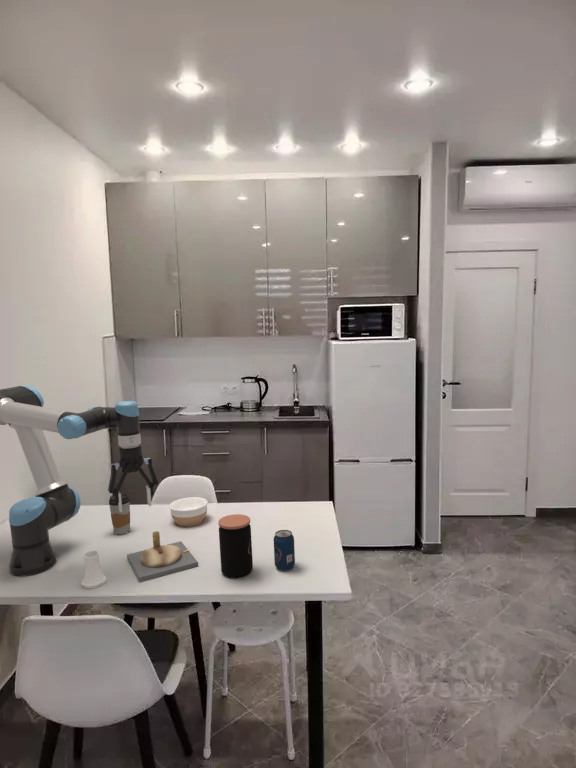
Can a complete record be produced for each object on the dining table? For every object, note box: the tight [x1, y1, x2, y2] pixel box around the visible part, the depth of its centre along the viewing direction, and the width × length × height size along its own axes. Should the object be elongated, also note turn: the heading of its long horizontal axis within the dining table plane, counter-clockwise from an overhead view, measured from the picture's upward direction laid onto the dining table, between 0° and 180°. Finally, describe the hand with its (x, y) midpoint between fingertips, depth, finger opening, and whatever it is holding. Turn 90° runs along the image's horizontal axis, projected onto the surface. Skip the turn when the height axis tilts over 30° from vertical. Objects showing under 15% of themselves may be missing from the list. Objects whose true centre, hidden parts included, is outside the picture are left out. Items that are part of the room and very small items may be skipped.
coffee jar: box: [217, 513, 254, 580], centre depth 170 cm, size 11×11×18 cm
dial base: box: [126, 541, 199, 583], centre depth 181 cm, size 20×20×2 cm
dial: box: [141, 530, 182, 567], centre depth 180 cm, size 14×14×7 cm
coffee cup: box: [108, 493, 131, 535], centre depth 208 cm, size 8×8×15 cm
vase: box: [81, 550, 107, 590], centre depth 168 cm, size 8×8×10 cm
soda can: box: [273, 529, 296, 572], centre depth 173 cm, size 7×7×12 cm
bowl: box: [169, 496, 209, 527], centre depth 217 cm, size 16×16×8 cm
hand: (135, 507), depth 180 cm, fingers open, 9 cm apart
